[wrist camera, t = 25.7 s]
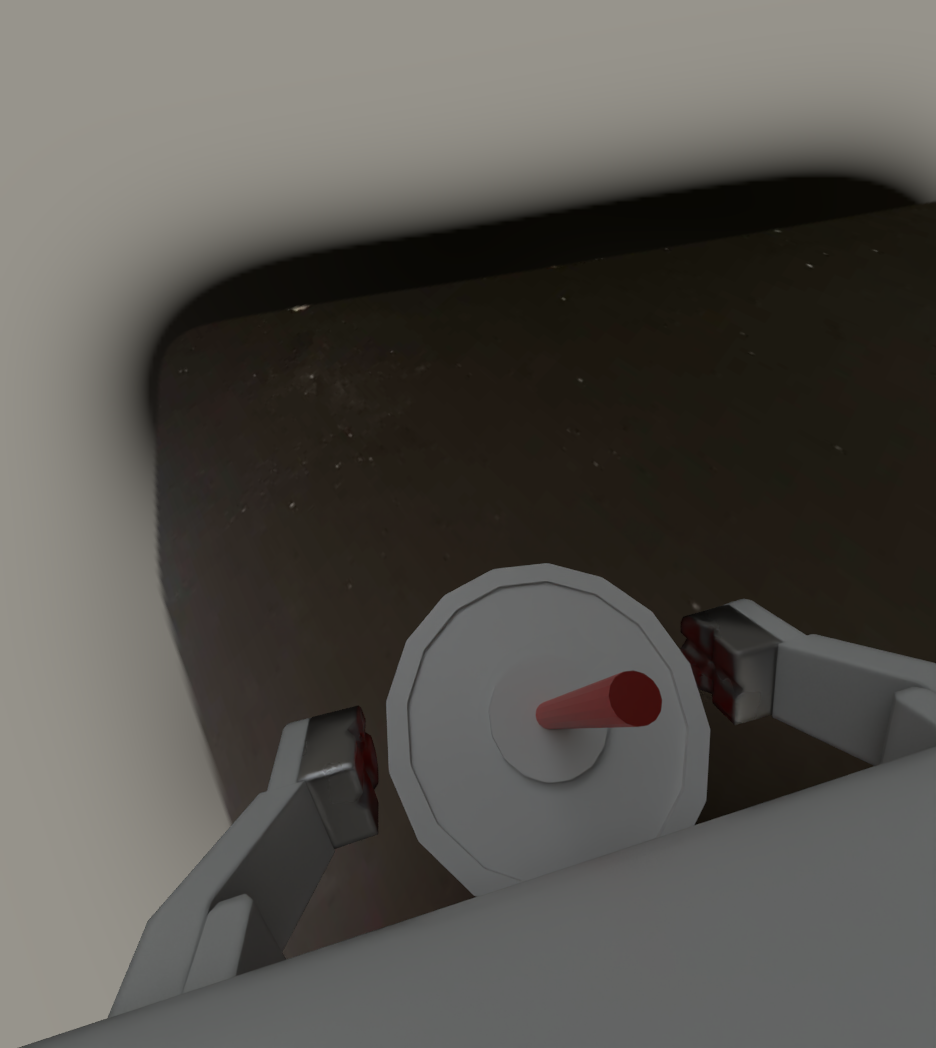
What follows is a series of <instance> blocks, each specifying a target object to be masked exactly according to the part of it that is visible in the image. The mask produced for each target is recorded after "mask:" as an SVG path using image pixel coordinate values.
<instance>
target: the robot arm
mask: <svg viewBox="0 0 936 1048" xmlns="http://www.w3.org/2000/svg"><path fill="white" fill-rule="evenodd" d="M681 633H682V634H683V635H684V636H685V637H686V638H687V639H686V641H685V642H684V644H683V646H682V647H681V652H682V654H683V655H684V656H685V658H686V659H687V660H688V662H689V663H690V665H691V669H692V672H693V675H694V678H695V682H696V685H697V688H698V689H700V690H703V691H706V692H708V693H711V694H712V702H713V704H714V705H715V706H716V707H717V708H718V709H719V710H720V711H721V712H722V713H723V714H724V715H725V716H726V717H727V718H728V719H729V720H730V721H731V722H732V723H733V724H734V725H737V724H741V723H744V722H748V721H752V720H755V719H759V718H763V717H766V716H770V715H772V717H773V718H775V719H777V720H779V721H781V722H783V723H786V724H788V725H790V726H792V727H794V728H796V729H798V730H800V731H802V732H804V733H807V734H809V735H811V736H813V737H815V738H817V739H819V740H821V741H823V742H825V743H827V744H830V745H832V746H834V747H836V748H838V749H840V750H842V751H844V752H846V753H848V754H850V755H853V756H855V757H857V758H859V759H861V760H863V761H865V762H867V763H869V764H871V765H874V767H871V768H868V769H865V770H862V771H858V772H855V773H852V774H849V775H846V776H843V777H840V778H837V779H834V780H831V781H828V782H825V783H822V784H819V785H816V786H813V787H810V788H807V789H804V790H801V791H798V792H795V793H792V794H788V795H785V796H782V797H779V798H776V799H773V800H770V801H767V802H764V803H761V804H758V805H755V806H752V807H749V808H746V809H743V810H740V811H737V812H734V813H731V814H728V815H725V816H722V817H719V818H715V819H712V820H709V821H706V822H703V823H700V824H697V825H694V826H691V827H688V828H685V829H682V830H679V831H676V832H673V833H670V834H667V835H664V836H661V837H658V838H655V839H652V840H649V841H646V842H643V843H640V844H637V845H633V846H630V847H627V848H624V849H621V850H618V851H615V852H612V853H609V854H606V855H603V856H600V857H597V858H594V859H591V860H588V861H585V862H582V863H579V864H576V865H573V866H570V867H567V868H564V869H561V870H557V871H554V872H551V873H548V874H545V875H542V876H539V877H536V878H533V879H530V880H527V881H524V882H521V883H518V884H515V885H512V886H509V887H506V888H503V889H499V890H496V891H493V892H490V893H487V894H484V895H481V896H478V897H475V898H472V899H469V900H466V901H463V902H460V903H457V904H454V905H451V906H448V907H445V908H442V909H438V910H435V911H432V912H429V913H426V914H423V915H420V916H417V917H414V918H411V919H408V920H405V921H402V922H399V923H396V924H393V925H390V926H387V927H384V928H381V929H378V930H375V931H372V932H369V933H366V934H362V935H359V936H356V937H353V938H350V939H347V940H344V941H341V942H338V943H335V944H332V945H329V946H326V947H323V948H320V949H317V950H314V951H311V952H308V953H305V954H302V955H299V956H296V957H293V958H290V959H287V960H286V958H285V957H284V955H283V953H282V952H283V950H284V948H285V946H286V944H287V942H288V940H289V938H290V936H291V935H292V933H293V931H294V929H295V927H296V925H297V923H298V921H299V919H300V917H301V915H302V914H303V912H304V910H305V908H306V906H307V904H308V902H309V900H310V898H311V896H312V894H313V893H314V891H315V889H316V887H317V885H318V883H319V881H320V879H321V877H322V875H323V874H324V872H325V870H326V868H327V866H328V864H329V862H330V860H331V858H332V856H333V854H334V853H335V851H334V849H336V848H339V847H342V846H345V845H348V844H351V843H354V842H356V841H359V840H362V839H365V838H368V837H371V836H374V835H377V834H378V800H377V797H376V794H375V791H374V789H375V788H376V786H377V785H378V764H377V756H376V751H375V747H374V743H373V740H372V737H371V735H369V734H367V733H366V732H365V723H366V720H365V717H364V714H363V712H362V709H361V707H359V706H354V707H350V708H346V709H342V710H338V711H334V712H330V713H326V714H322V715H318V716H314V717H312V718H308V719H304V720H300V721H296V722H292V723H288V724H287V725H286V726H285V728H284V729H283V732H282V736H281V740H280V744H279V747H278V751H277V755H276V759H275V763H274V766H273V770H272V774H271V778H270V782H269V785H268V789H267V791H266V792H263V793H260V794H259V795H258V796H257V797H256V798H255V799H254V800H253V801H252V803H251V804H250V805H249V806H248V807H247V808H246V809H245V811H244V812H243V813H242V814H241V815H240V816H239V817H238V819H237V820H236V821H235V822H234V823H233V824H232V825H231V827H230V828H229V829H228V830H227V831H226V832H225V834H224V835H223V836H222V837H221V838H220V839H219V840H218V841H217V843H216V844H215V845H214V846H213V847H212V848H211V850H210V851H209V852H208V853H207V854H206V855H205V856H204V857H203V859H202V860H201V861H200V862H199V863H198V864H197V865H196V867H195V868H194V869H193V870H192V871H191V873H190V874H189V875H188V876H187V877H186V878H185V879H184V880H183V881H182V883H181V884H180V885H179V886H178V887H177V888H176V890H175V891H174V892H173V893H172V894H171V895H170V896H169V897H168V899H167V900H166V901H165V902H164V903H163V904H162V905H161V907H160V908H159V909H158V910H157V911H156V912H155V914H154V915H153V916H152V917H151V918H150V919H149V920H148V922H147V924H146V927H145V929H144V932H143V934H142V936H141V939H140V941H139V944H138V946H137V949H136V951H135V953H134V956H133V958H132V960H131V963H130V965H129V968H128V970H127V972H126V975H125V977H124V980H123V982H122V985H121V987H120V989H119V992H118V994H117V996H116V999H115V1002H114V1004H113V1006H112V1008H111V1011H110V1014H109V1016H108V1018H107V1019H104V1020H101V1021H98V1022H95V1023H92V1024H89V1025H86V1026H83V1027H80V1028H77V1029H74V1030H71V1031H68V1032H65V1033H62V1034H59V1035H56V1036H53V1037H50V1038H47V1039H44V1040H41V1041H38V1042H35V1043H31V1044H28V1045H25V1046H22V1047H19V1048H936V663H932V662H928V661H924V660H920V659H916V658H911V657H907V656H903V655H899V654H895V653H891V652H886V651H882V650H878V649H874V648H870V647H865V646H861V645H857V644H853V643H849V642H845V641H840V640H836V639H832V638H828V637H824V636H820V635H815V634H812V635H808V636H806V635H805V634H803V633H802V632H800V631H799V630H797V629H795V628H794V627H792V626H791V625H789V624H788V623H786V622H784V621H783V620H781V619H780V618H778V617H777V616H775V615H773V614H772V613H770V612H769V611H767V610H766V609H764V608H762V607H761V606H759V605H758V604H756V603H755V602H753V601H751V600H748V599H741V600H738V601H734V602H731V603H728V604H724V605H723V606H719V607H716V608H712V609H709V610H705V611H702V612H698V613H695V614H691V615H687V616H684V617H683V618H682V621H681Z"/></svg>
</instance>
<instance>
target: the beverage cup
mask: <svg viewBox="0 0 936 1048" xmlns="http://www.w3.org/2000/svg"><path fill="white" fill-rule="evenodd" d="M386 710H387V735H388V759H389V773H390V776H391V778H392V780H393V783H394V785H395V787H396V790H397V792H398V794H399V797H400V799H401V801H402V804H403V806H404V808H405V811H406V813H407V815H408V818H409V820H410V822H411V825H412V827H413V829H414V832H415V834H416V836H417V839H418V841H419V842H420V843H421V844H422V845H423V846H424V847H425V848H426V849H427V850H428V851H429V852H430V853H431V854H432V855H433V856H434V857H435V858H436V859H437V860H438V861H439V862H440V863H441V864H442V865H443V866H444V867H445V868H446V869H447V870H448V871H449V872H450V873H451V874H453V875H454V876H455V877H456V878H457V879H458V880H459V881H460V882H461V883H462V884H463V885H464V886H465V887H466V888H467V889H468V890H469V891H470V892H471V893H472V894H473V895H474V896H477V897H478V896H481V895H484V894H487V893H490V892H493V891H496V890H499V889H503V888H506V887H509V886H512V885H515V884H518V883H521V882H524V881H527V880H530V879H533V878H536V877H539V876H542V875H545V874H548V873H551V872H554V871H557V870H561V869H564V868H567V867H570V866H573V865H576V864H579V863H582V862H585V861H588V860H591V859H594V858H597V857H600V856H603V855H606V854H609V853H612V852H615V851H618V850H621V849H624V848H627V847H630V846H633V845H637V844H640V843H643V842H646V841H649V840H652V839H655V838H658V837H661V836H664V835H667V834H670V833H673V832H676V831H679V830H682V829H685V828H688V827H691V826H694V825H695V823H696V821H697V819H698V817H699V815H700V812H701V810H702V808H703V806H704V804H705V802H706V795H707V778H708V760H709V743H710V727H709V724H708V721H707V717H706V714H705V711H704V708H703V704H702V701H701V698H700V695H699V691H698V688H697V685H696V682H695V678H694V675H693V672H692V669H691V665H690V663H689V662H688V660H687V659H686V658H685V656H684V655H683V654H682V652H681V651H680V650H679V648H678V647H677V645H676V644H675V643H674V641H673V640H672V639H671V637H670V636H669V635H668V633H667V632H666V630H665V629H664V628H663V626H662V625H661V624H660V622H659V621H658V620H657V618H656V617H655V615H654V614H653V613H652V612H651V611H650V610H648V609H647V608H646V607H644V606H643V605H641V604H640V603H638V602H637V601H635V600H634V599H633V598H631V597H630V596H628V595H627V594H625V593H624V592H622V591H621V590H620V589H618V588H617V587H615V586H614V585H612V584H611V583H609V582H608V581H607V580H605V579H604V578H602V577H598V576H594V575H591V574H587V573H583V572H579V571H575V570H572V569H568V568H564V567H560V566H556V565H552V564H549V563H545V564H536V565H527V566H518V567H509V568H500V569H493V570H491V571H489V572H487V573H485V574H483V575H482V576H480V577H478V578H476V579H474V580H472V581H470V582H469V583H467V584H465V585H463V586H461V587H459V588H457V589H456V590H454V591H452V592H450V593H448V594H446V595H444V596H443V598H442V599H441V600H440V601H439V602H438V604H437V605H436V606H435V607H434V608H433V610H432V611H431V612H430V613H429V614H428V616H427V617H426V618H425V619H424V620H423V622H422V623H421V624H420V625H419V626H418V628H417V629H416V630H415V631H414V632H413V634H412V635H411V636H410V637H409V639H408V640H407V641H406V644H405V647H404V650H403V653H402V656H401V659H400V662H399V665H398V668H397V671H396V674H395V677H394V680H393V683H392V686H391V689H390V692H389V695H388V698H387V701H386Z"/></svg>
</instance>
